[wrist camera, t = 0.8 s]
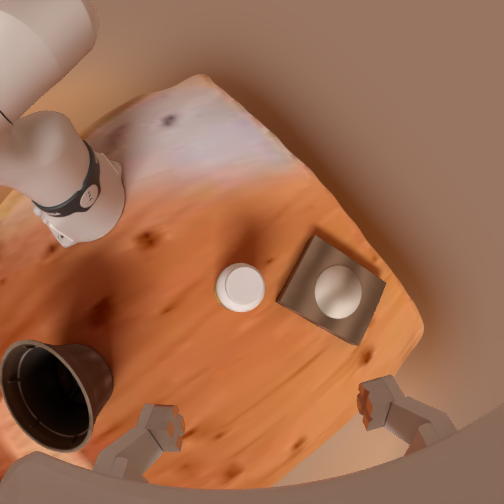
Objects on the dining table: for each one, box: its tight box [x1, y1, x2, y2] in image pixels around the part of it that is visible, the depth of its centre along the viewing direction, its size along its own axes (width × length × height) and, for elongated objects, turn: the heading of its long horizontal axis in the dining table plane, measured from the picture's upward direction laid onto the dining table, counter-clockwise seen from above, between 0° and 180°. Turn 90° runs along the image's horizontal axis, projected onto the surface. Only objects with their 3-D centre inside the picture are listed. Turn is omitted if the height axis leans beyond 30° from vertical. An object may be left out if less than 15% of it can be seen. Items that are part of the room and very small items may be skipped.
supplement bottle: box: [214, 263, 265, 312], centre depth 39 cm, size 7×7×13 cm
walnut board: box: [275, 235, 386, 346], centre depth 47 cm, size 17×13×3 cm
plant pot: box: [0, 340, 113, 453], centre depth 30 cm, size 16×16×16 cm
